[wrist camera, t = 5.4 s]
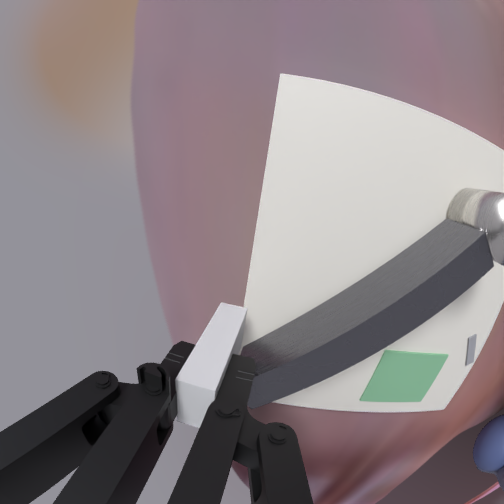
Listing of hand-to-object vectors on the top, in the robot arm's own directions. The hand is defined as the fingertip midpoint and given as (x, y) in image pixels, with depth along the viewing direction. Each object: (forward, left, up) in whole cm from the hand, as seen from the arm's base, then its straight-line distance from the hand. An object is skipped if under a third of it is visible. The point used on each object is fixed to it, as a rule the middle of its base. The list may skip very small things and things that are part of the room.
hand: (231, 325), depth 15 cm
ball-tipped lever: (-8, -4, -2) cm, 9 cm away
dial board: (-10, -3, -3) cm, 11 cm away
